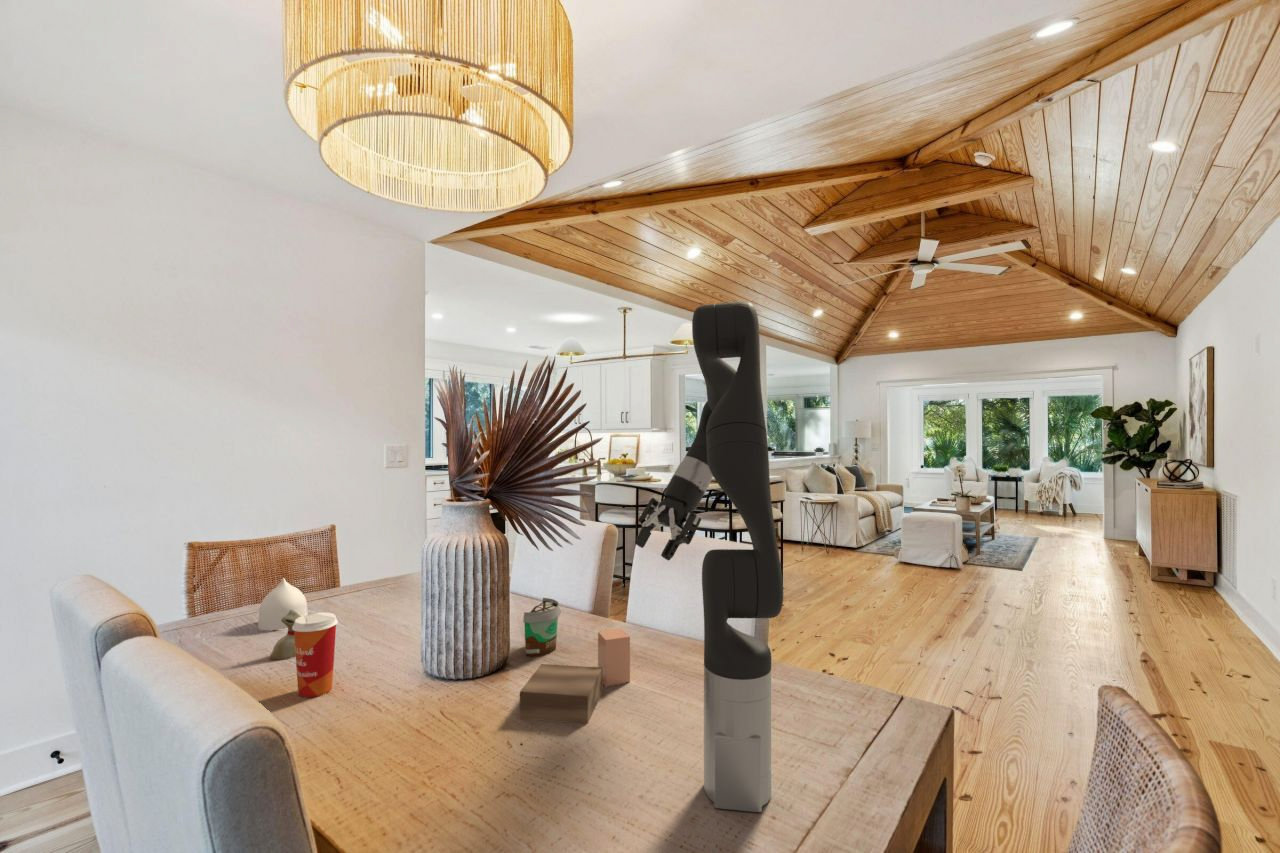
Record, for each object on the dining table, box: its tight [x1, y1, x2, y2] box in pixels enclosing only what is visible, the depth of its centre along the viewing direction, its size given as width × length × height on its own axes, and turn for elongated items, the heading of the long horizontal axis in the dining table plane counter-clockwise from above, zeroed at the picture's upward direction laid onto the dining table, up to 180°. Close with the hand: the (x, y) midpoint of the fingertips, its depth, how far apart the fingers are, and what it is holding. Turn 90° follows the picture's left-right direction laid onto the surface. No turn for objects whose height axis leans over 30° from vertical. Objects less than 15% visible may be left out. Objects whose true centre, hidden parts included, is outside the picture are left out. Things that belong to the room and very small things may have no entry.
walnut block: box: [519, 663, 603, 724], centre depth 108 cm, size 12×12×5 cm
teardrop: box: [257, 576, 309, 631], centre depth 152 cm, size 11×11×12 cm
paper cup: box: [292, 612, 339, 699], centre depth 113 cm, size 8×8×14 cm
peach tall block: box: [597, 628, 631, 687], centre depth 119 cm, size 5×5×9 cm
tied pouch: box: [269, 610, 301, 661], centre depth 132 cm, size 6×8×10 cm
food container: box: [522, 597, 562, 658], centre depth 134 cm, size 12×6×10 cm, turn 168°
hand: (651, 552), depth 120 cm, fingers open, 8 cm apart
